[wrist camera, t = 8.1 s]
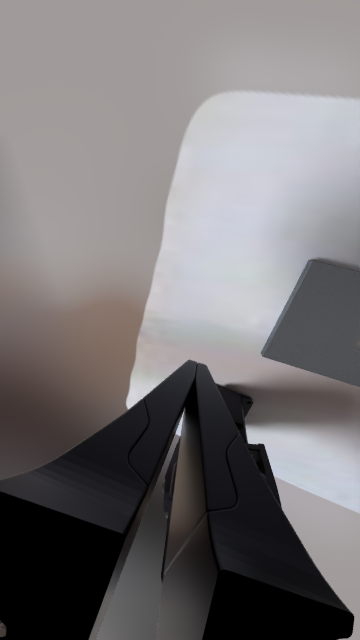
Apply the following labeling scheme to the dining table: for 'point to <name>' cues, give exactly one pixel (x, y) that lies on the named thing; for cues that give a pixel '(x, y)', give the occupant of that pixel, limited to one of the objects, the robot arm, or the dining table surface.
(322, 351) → the grey stepped plate
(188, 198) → the dining table surface
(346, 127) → the dining table surface
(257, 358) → the dining table surface
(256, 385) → the dining table surface
